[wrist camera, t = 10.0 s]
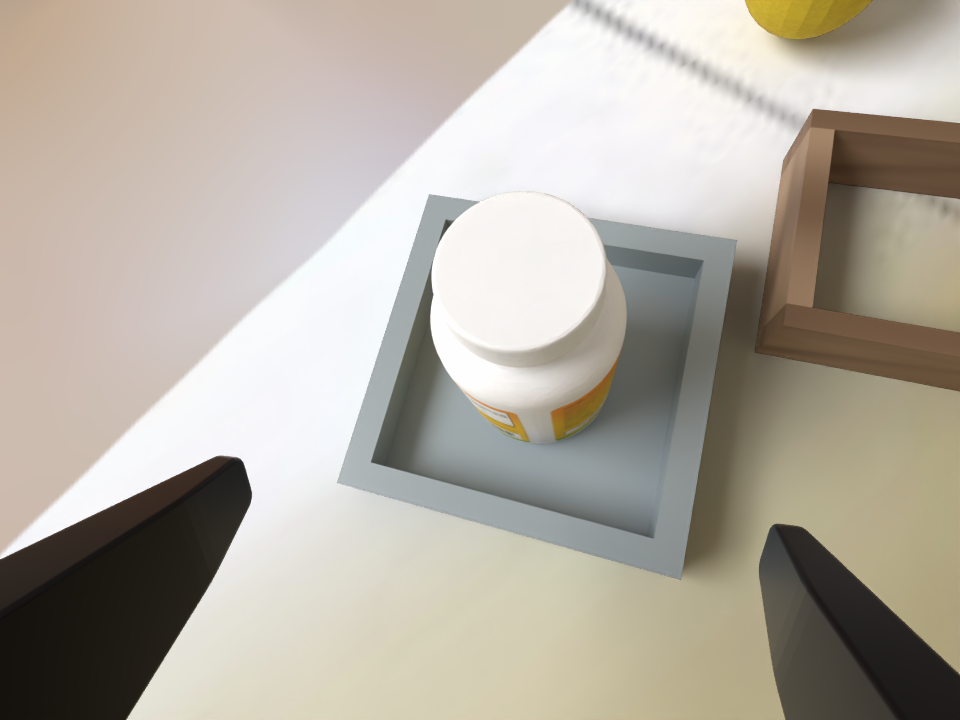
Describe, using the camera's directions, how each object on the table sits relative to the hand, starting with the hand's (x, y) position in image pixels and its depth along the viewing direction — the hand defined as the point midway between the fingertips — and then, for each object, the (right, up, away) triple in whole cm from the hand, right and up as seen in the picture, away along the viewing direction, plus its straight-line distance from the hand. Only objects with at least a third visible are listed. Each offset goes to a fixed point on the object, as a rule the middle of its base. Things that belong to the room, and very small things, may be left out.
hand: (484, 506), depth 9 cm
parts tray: (+2, +2, +13) cm, 13 cm away
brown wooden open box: (+16, +6, +12) cm, 20 cm away
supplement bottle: (+2, +2, +12) cm, 13 cm away
